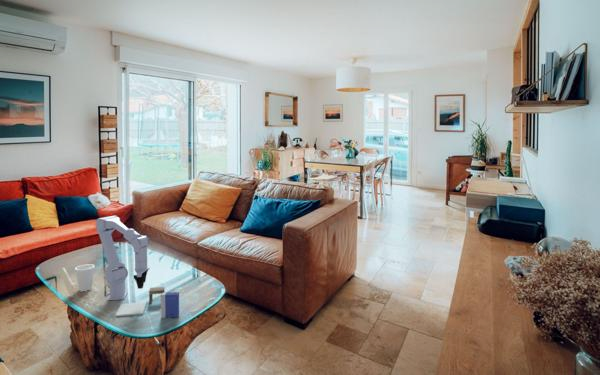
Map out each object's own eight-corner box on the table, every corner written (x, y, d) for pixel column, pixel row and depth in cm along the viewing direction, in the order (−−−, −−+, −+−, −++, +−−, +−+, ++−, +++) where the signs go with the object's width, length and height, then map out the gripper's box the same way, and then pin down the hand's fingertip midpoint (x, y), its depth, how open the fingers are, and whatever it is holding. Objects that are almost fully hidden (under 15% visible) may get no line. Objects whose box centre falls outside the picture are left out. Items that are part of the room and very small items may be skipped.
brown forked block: (150, 300, 184) (150, 287, 183) (164, 299, 186) (164, 286, 185) (149, 304, 179) (149, 291, 179) (163, 302, 181) (163, 290, 180)
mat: (121, 305, 177) (121, 304, 177) (146, 303, 180) (146, 301, 180) (115, 316, 165) (115, 315, 165) (142, 314, 169) (142, 312, 169)
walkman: (179, 314, 169) (179, 291, 168) (177, 317, 167) (177, 294, 165) (162, 315, 169) (162, 291, 167) (161, 317, 166) (160, 294, 164)
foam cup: (84, 285, 199) (83, 263, 198) (99, 286, 198) (98, 264, 197) (71, 292, 190) (70, 269, 188) (86, 293, 189) (85, 270, 187)
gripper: (147, 264, 170) (148, 290, 172) (151, 254, 184) (151, 279, 185) (131, 265, 168) (132, 291, 170) (137, 255, 182) (137, 280, 183)
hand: (141, 285), depth 177 cm, fingers open, 7 cm apart
